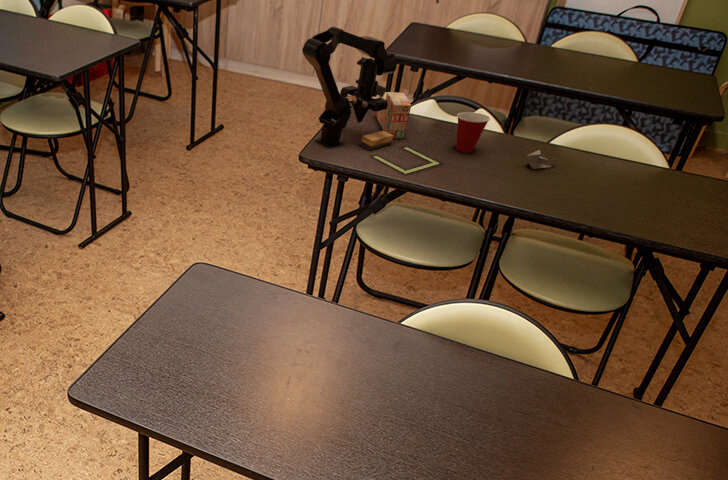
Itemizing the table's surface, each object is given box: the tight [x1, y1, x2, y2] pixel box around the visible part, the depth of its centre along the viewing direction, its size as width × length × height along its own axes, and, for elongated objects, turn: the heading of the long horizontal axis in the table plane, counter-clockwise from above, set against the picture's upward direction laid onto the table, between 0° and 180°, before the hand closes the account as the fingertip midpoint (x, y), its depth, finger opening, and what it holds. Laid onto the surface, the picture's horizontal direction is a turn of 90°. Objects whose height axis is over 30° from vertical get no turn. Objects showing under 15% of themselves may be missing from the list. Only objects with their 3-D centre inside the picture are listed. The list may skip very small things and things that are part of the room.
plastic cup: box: [455, 111, 491, 154], centre depth 237 cm, size 11×11×12 cm
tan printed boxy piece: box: [375, 91, 412, 140], centre depth 251 cm, size 21×6×12 cm, turn 179°
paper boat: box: [526, 149, 557, 170], centre depth 228 cm, size 12×6×9 cm
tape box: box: [373, 146, 440, 175], centre depth 233 cm, size 16×15×1 cm
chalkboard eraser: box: [360, 130, 394, 151], centre depth 241 cm, size 10×5×4 cm, turn 122°
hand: (359, 122), depth 246 cm, fingers closed
